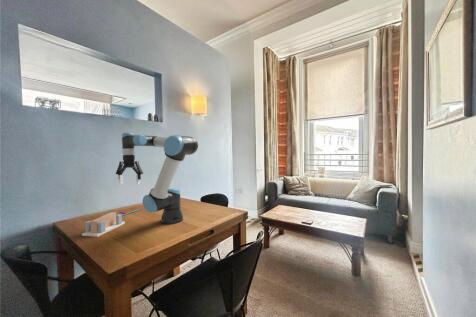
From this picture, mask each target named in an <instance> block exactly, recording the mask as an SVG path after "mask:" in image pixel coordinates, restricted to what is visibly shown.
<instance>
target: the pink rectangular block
mask: <svg viewBox="0 0 476 317" xmlns="http://www.w3.org/2000/svg"><path fill="white" fill-rule="evenodd" d="M116 215H117V212H113V211H112V212H108V213H106V214H104V215H101V216H100V217H97V218H95V219H93V220H89V221H90V223H91V233H98V223H99V222H102V221H105V229H106V228H107V227H109V226H111V225H113V224H115V223H116Z"/></svg>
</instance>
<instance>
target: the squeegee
mask: <svg viewBox="0 0 476 317" xmlns="http://www.w3.org/2000/svg"><path fill="white" fill-rule="evenodd" d="M142 210H143V209H142V208H140V209H136V210H133V211H129V212H123V211H119V212H118V214H122V217H123V216H126V215H129V214H133V213H136V212H139V211H142Z"/></svg>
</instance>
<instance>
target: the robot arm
mask: <svg viewBox="0 0 476 317" xmlns="http://www.w3.org/2000/svg"><path fill="white" fill-rule="evenodd" d="M121 144H122V149H121V150H122V160H123V161H121V160H120V161H119V163H118V166H117V170H116V171H115V175H118V180H119V185H123V184H124V175H123V174H124V172H125V170H126V169H130V168H131V169H132V170H133V171H134V172H135V174H136V176H135V178H136V185H140V184H141V180H142V177H141V176H142V175H143V174H144V171H143V169H142V167H141V165H140V161H138V160H136V157H135V156H136V155H135V153H136V152H135V147H158V148H163V151H164V155H165V158H164V161H163V164H162V167H161V169H160V172H159V174H158V177H157V179H156V182H155V185H154V186H153V187H152V188H150V191H149V192H148V194H147V195H146V194H145V195H144V196H143V198H142V205H143V208H144V210H145V211H146V212H147V213H157V212H160V211H162V210H163V211H162V214H161V215H162V216H161V219H160V220H161V221H160V222H161V223H162V224H164V225H167V224H168V225H172V224H177V223H181V222H182V221H183V220H184V215H183V212H182V209H181V190H180V189H179V188H171V184H172V182H173V180H174V177H175V175H176V173H177V169H178V168H179V165H180V162H182V161H184V159H185V157H186V156H187V155H189V156H190V155H193V154H195V153H196V152H197V151H198V148H199V143H198V140H197V139H196V138H195V137H193V136H186V135H180V134H179V135H177V134H176V135H170V136H168V137H166V136H156V135H143V134H134V133H133V132H123V133H122V135H121ZM135 160H136V161H135Z"/></svg>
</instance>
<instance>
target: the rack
mask: <svg viewBox="0 0 476 317" xmlns="http://www.w3.org/2000/svg"><path fill="white" fill-rule="evenodd" d="M122 215H123V214H122V213H118V214H116V223H115V224H113V225H111V226H109V227H107V228H106V229H105V221H102V222H99V223H98V233H91V223H90V221H91V220H88V221H85V222H84V223H85V224H84V226H85V230H84V231H85V232H83V233H81V236H82V237H94V238H95V237H97V238H99V237H101V236H102V235H104V234H106V233H108V232H111V231H113V230H115V229H116V228H118V227H121V226H122V225H125V221H123V216H122Z"/></svg>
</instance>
